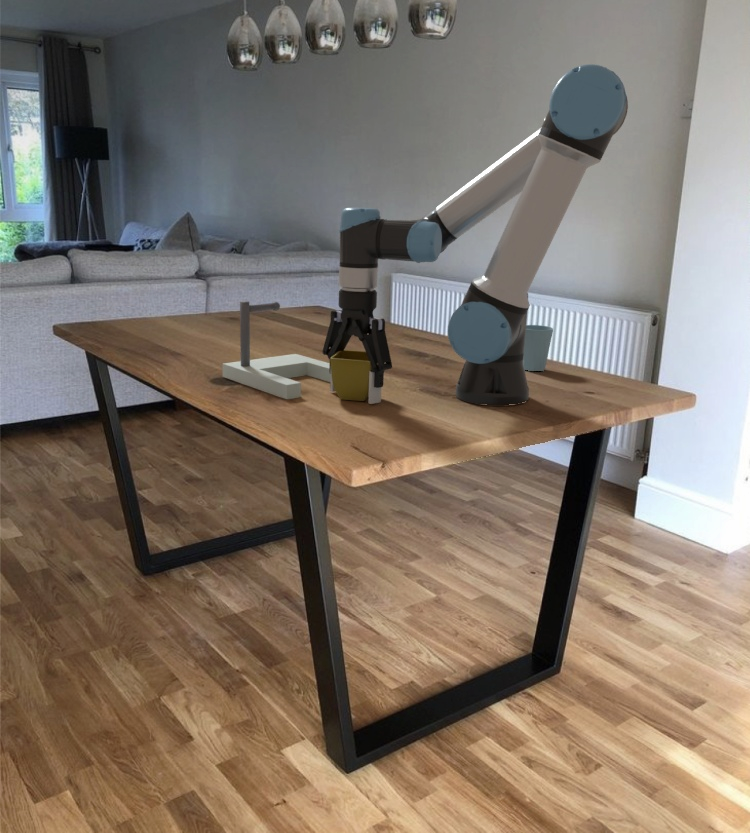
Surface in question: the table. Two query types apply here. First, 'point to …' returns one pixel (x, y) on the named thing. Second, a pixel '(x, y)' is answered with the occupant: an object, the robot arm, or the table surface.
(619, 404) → the table surface
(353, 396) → the flower pot
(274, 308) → the l-shaped hook stand
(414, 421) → the table surface
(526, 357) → the cup
